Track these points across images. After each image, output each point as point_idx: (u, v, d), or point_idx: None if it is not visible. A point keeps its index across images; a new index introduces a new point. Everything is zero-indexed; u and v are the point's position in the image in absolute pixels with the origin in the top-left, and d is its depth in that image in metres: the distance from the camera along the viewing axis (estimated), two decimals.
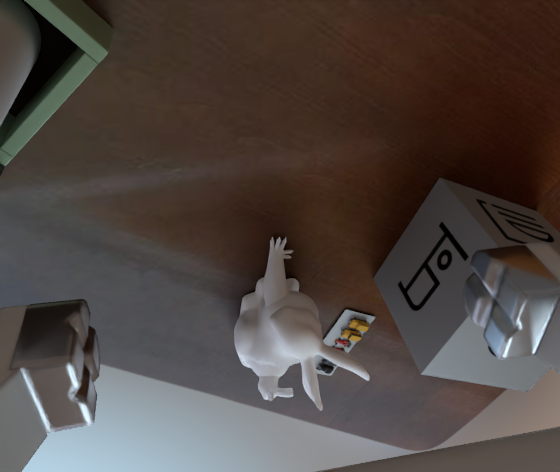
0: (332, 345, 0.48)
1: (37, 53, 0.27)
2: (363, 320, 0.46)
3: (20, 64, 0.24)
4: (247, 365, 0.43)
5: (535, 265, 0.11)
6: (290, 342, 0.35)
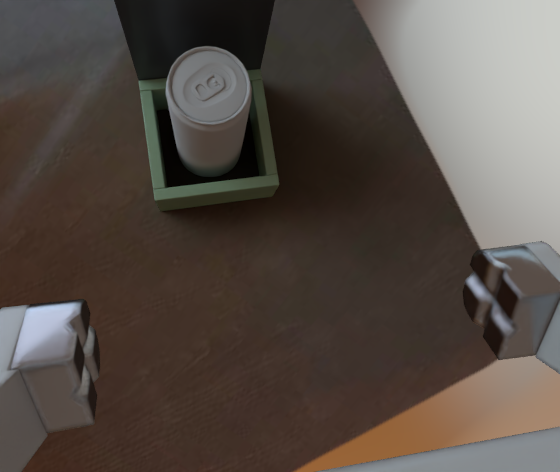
0: None
1: (181, 160, 0.39)
2: None
3: (187, 151, 0.35)
4: None
5: (535, 265, 0.11)
6: None
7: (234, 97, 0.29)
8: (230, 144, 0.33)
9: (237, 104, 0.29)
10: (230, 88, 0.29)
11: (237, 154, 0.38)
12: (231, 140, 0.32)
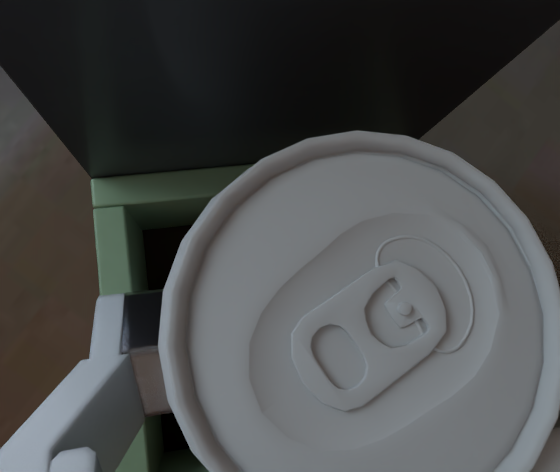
0: None
1: None
2: None
3: None
4: None
5: None
6: None
7: (495, 387, 0.06)
8: None
9: (510, 421, 0.06)
10: (471, 340, 0.06)
11: None
12: None
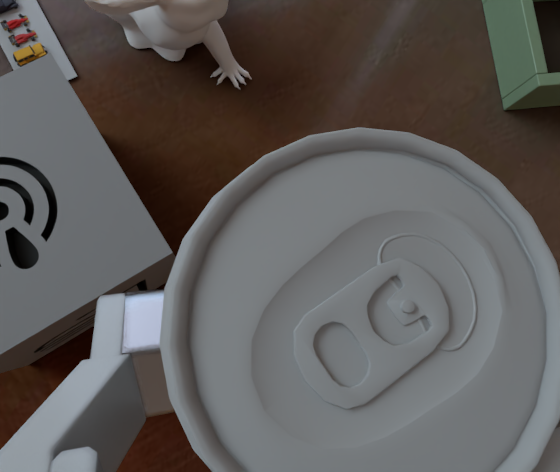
0: (28, 24, 0.33)
1: None
2: None
3: None
4: None
5: None
6: None
7: (498, 385, 0.06)
8: None
9: (512, 419, 0.06)
10: (474, 339, 0.06)
11: None
12: None
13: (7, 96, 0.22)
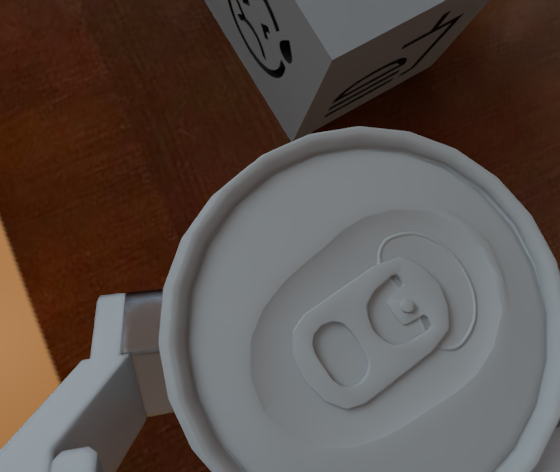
0: None
1: None
2: None
3: None
4: None
5: None
6: None
7: (498, 384, 0.06)
8: None
9: (512, 419, 0.06)
10: (474, 337, 0.06)
11: None
12: None
13: None
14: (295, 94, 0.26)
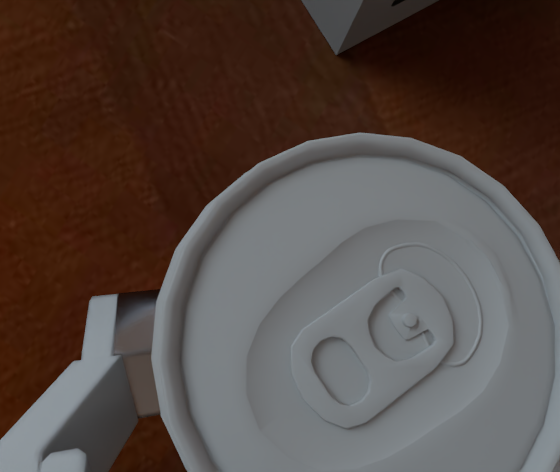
0: None
1: None
2: None
3: None
4: None
5: None
6: None
7: (504, 402, 0.06)
8: None
9: (519, 437, 0.06)
10: (479, 352, 0.06)
11: None
12: None
13: None
14: None
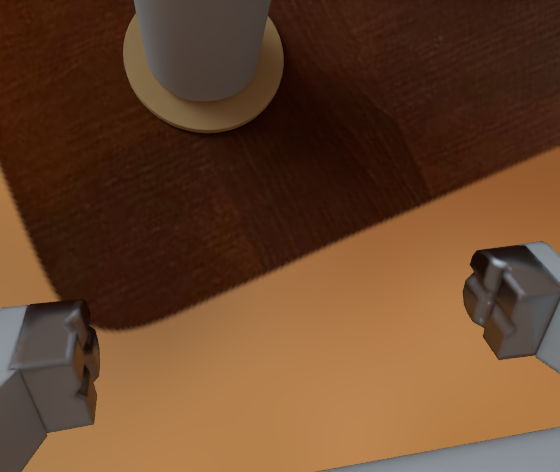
0: None
1: (151, 63, 0.21)
2: None
3: (156, 20, 0.17)
4: None
5: (535, 265, 0.11)
6: None
7: None
8: None
9: None
10: None
11: (254, 49, 0.20)
12: None
13: None
14: None
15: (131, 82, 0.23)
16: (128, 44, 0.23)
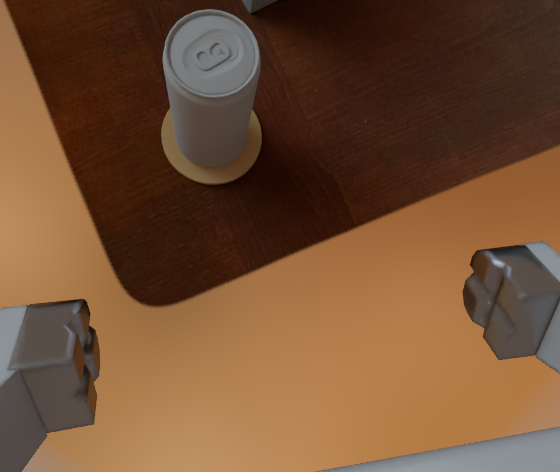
0: None
1: (179, 146, 0.35)
2: None
3: (185, 133, 0.31)
4: None
5: (535, 265, 0.11)
6: None
7: (240, 68, 0.26)
8: (234, 125, 0.29)
9: (244, 76, 0.26)
10: (236, 58, 0.26)
11: (241, 140, 0.34)
12: (235, 120, 0.29)
13: None
14: None
15: (166, 153, 0.37)
16: (164, 129, 0.37)
